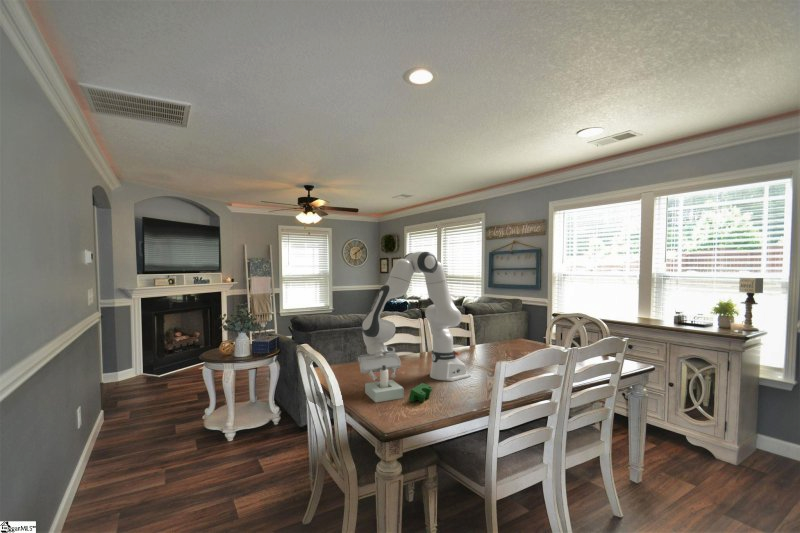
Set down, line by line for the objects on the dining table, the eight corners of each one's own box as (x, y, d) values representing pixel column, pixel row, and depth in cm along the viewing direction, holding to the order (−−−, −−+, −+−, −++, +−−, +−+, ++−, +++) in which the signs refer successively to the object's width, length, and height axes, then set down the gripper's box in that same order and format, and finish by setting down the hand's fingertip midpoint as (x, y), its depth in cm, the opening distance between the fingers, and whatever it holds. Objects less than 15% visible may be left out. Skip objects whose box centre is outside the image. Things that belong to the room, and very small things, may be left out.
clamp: (420, 412, 169) (420, 397, 165) (408, 406, 172) (408, 392, 168) (433, 395, 178) (433, 380, 173) (422, 389, 181) (422, 375, 176)
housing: (391, 388, 187) (391, 379, 187) (403, 397, 175) (403, 388, 175) (365, 392, 181) (365, 383, 181) (375, 402, 169) (375, 392, 169)
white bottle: (386, 393, 181) (386, 364, 180) (389, 396, 177) (389, 366, 177) (378, 394, 179) (378, 365, 179) (381, 397, 175) (381, 367, 175)
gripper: (358, 351, 180) (365, 378, 171) (397, 347, 188) (406, 372, 179) (355, 359, 184) (362, 385, 175) (393, 354, 192) (402, 379, 184)
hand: (384, 378), depth 177 cm, fingers open, 8 cm apart
